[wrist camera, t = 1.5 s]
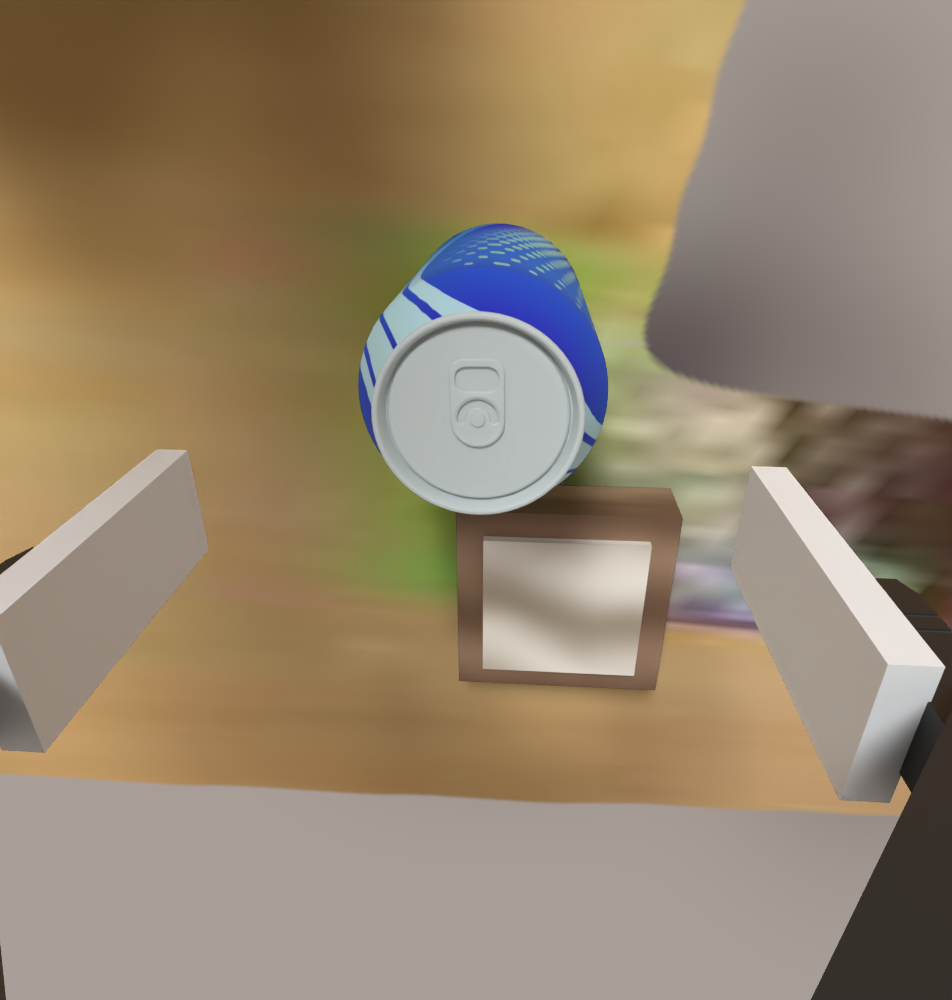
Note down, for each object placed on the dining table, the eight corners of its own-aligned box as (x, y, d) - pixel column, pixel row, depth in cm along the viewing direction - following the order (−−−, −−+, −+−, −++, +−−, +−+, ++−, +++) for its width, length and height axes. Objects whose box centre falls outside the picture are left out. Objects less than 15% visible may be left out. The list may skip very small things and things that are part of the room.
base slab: (461, 482, 40) (455, 515, 36) (670, 488, 39) (684, 523, 35) (463, 643, 45) (458, 686, 42) (646, 652, 44) (656, 696, 41)
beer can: (616, 295, 34) (676, 404, 20) (509, 417, 38) (497, 582, 23) (485, 181, 32) (450, 212, 18) (385, 320, 36) (290, 438, 21)
